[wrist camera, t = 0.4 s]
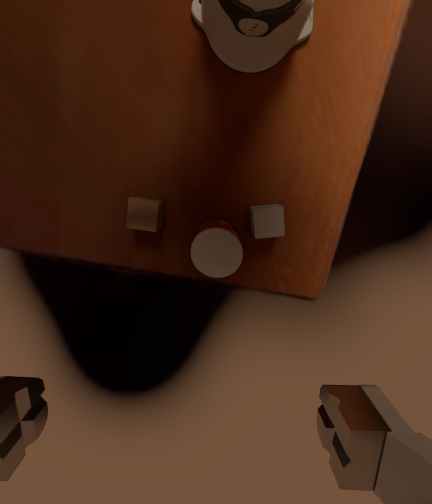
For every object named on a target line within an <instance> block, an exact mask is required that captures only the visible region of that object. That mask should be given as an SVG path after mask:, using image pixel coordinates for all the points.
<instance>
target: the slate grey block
mask: <svg viewBox="0 0 432 504" xmlns="http://www.w3.org/2000/svg"><path fill="white" fill-rule="evenodd" d="M250 217H251V230H252V235H253V236H254V238H255V239H260V238H269V237H279V236H285V229H284V208H283V206H282V205H279V204H269V205H260V206H251V207H250Z"/></svg>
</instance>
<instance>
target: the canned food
mask: <svg viewBox="0 0 432 504" xmlns="http://www.w3.org/2000/svg"><path fill="white" fill-rule="evenodd" d="M191 258H192V261H193V263H194V265H195V267H196V268H197V269H198V270H199V271H200V272H201V273H203V274H204V275H206V276H209V277H213V278H222V277H226V276H229V275H231V274H232V273H234V272H235V271H236V270H237V269H238V268H239V266H240V264H241V262H242V258H243V250H242V246H241V243H240V240H239V237H238V235H237V232H236V230H235V229H234V227H233V226H232V225H231V224H229V223H228V222H225V221H223V220H217V219H214V220H209V221H207V222H205V223H204V224H202V225H201V226H200V228H199V229H198V231H197V233H196V235H195V238H194V240H193V242H192V245H191Z"/></svg>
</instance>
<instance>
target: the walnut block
mask: <svg viewBox="0 0 432 504" xmlns="http://www.w3.org/2000/svg"><path fill="white" fill-rule="evenodd" d="M164 201H165V200H159V199H152V198H146V197H139V196H135V197H130V198H129V199H128V212H127V226H126V228H132V229H138V230H145V231H151V232H157V231H158V230H159V229H160V228H162V219H163V210H164Z"/></svg>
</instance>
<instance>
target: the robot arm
mask: <svg viewBox="0 0 432 504" xmlns="http://www.w3.org/2000/svg"><path fill="white" fill-rule="evenodd" d="M199 1H200V0H193V3H192V7H191V14H192V17H193V19H194V20H195V21H196V22H197V24H198V25H199V26H200V27H201V28H202V29H203V30H204V31H205V33H206V35H207V37H208V40H209V42H210V45H211V47H212V49H213V50H214V52H215V53H216V55H217V56H218V57H219V58H220V60H222V61H223V62H224V63H225V64H226V65H228V66H229V67H231V68H233V69H235V70H238V71H241V72H250V73H251V72H259V71H263V70H266V69H268V68H270V67H272V66H273V65H275V64H276V63H277V62H279V61H280V60H281V59H282V58H283V57H284V56H285V54H286V53H287V52H288V51H289V50H290V49H291V48H292V47H293V46H294V45H296V44H298V43H300V42H302V41H304V40H305V39H307V38H308V37H309V35H310V34H311V31H312V27H313V4H314V0H201V4H200V3H199ZM44 391H45V387H44V382H43V380H42V379H40V378H33V377H14V376H5V377H4V376H0V481H8V480H9V478H10V477H11V475H12V474H13V472H14V471H15V470H16V468H17V467H18V465H19V464H20V463H21V461H22V460H23V458H24V457H25V455H26V454H25V447H27V446H28V445H30V444H31V443H33V442H34V441H35V440H37V438H38V437H39V435H40V434H41V432H42V431H43V429H44V426H45V423H46V421H47V416H48V405H47V402H46V401H45V400H44V399H43V398H42V397H41V395H42V394H43V392H44ZM319 397H320V399H321V401H322V403H323V404H322V405H321V406H320V407H319V408H318V410H317V429H318V433H319V437H320V440H321V443H322V446H323V447H324V448H325V449H326V450H327V451H328V452H329V453H330V462H329V464H330V466H331V468H332V471H333V474H334V476H335V479H336V481H337V484H338V486H339V488H340V489H345V490H363V491H374V493H375V494H376V496H377V497H378V498H380V500H381V501H382V502H383V503H384V504H432V440H431V439H430V438H428V437H426V436H425V435H423V434H422V433H415V432H414V431H413V430H412V429H411V427H410V426H409V425H408V424H407V422H406V421H405V420H404V418H403V417H402V416H401V415H400V413H399V412H398V411H397V409H396V408H395V407H394V406H393V404H392V403H391V402H390V401H389V399H388V398H387V397H386V395H385V394H384V393H383V392H382V391H381V389H380V388H379V387H378V386H376V385H322V387H321V389H320V395H319Z"/></svg>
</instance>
